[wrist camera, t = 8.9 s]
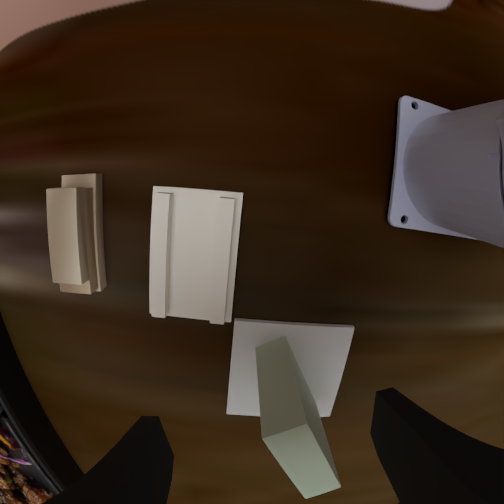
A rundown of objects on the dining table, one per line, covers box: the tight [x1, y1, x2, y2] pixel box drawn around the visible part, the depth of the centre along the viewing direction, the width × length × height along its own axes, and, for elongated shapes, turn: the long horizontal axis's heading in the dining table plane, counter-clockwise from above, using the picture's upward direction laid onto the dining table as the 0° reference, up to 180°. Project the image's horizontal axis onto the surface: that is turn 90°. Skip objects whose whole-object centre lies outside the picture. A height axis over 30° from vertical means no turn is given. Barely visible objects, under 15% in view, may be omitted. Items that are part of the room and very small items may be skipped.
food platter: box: [0, 313, 84, 504], centre depth 20 cm, size 45×25×10 cm, turn 8°
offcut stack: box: [46, 173, 107, 294], centre depth 17 cm, size 2×7×3 cm, turn 178°
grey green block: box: [255, 336, 341, 499], centre depth 16 cm, size 2×6×8 cm, turn 24°
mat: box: [226, 318, 355, 417], centre depth 20 cm, size 8×8×1 cm
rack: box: [149, 186, 243, 325], centre depth 18 cm, size 5×8×2 cm, turn 174°
